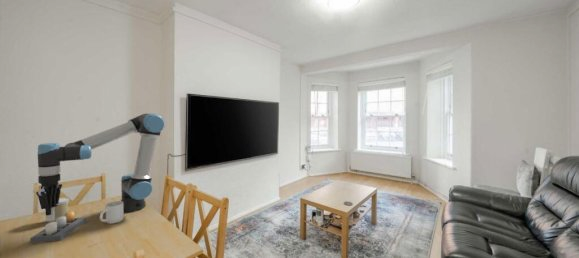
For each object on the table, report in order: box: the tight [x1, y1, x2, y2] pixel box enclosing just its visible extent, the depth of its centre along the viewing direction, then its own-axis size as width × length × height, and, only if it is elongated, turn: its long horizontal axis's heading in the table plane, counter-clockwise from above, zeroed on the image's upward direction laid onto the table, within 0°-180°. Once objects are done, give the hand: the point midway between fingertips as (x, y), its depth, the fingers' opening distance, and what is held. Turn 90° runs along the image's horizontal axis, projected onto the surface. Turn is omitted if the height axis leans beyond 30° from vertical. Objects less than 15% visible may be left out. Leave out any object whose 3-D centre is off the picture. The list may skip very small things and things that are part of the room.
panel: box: [30, 217, 87, 244], centre depth 120 cm, size 12×20×2 cm, turn 14°
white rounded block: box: [44, 222, 57, 235], centre depth 113 cm, size 4×4×5 cm
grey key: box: [55, 216, 66, 229], centre depth 120 cm, size 4×4×5 cm
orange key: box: [65, 210, 76, 223], centre depth 126 cm, size 4×4×5 cm
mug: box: [99, 200, 125, 225], centre depth 131 cm, size 12×8×10 cm
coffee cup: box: [48, 197, 70, 223], centre depth 131 cm, size 9×9×12 cm
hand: (50, 220), depth 113 cm, fingers closed
